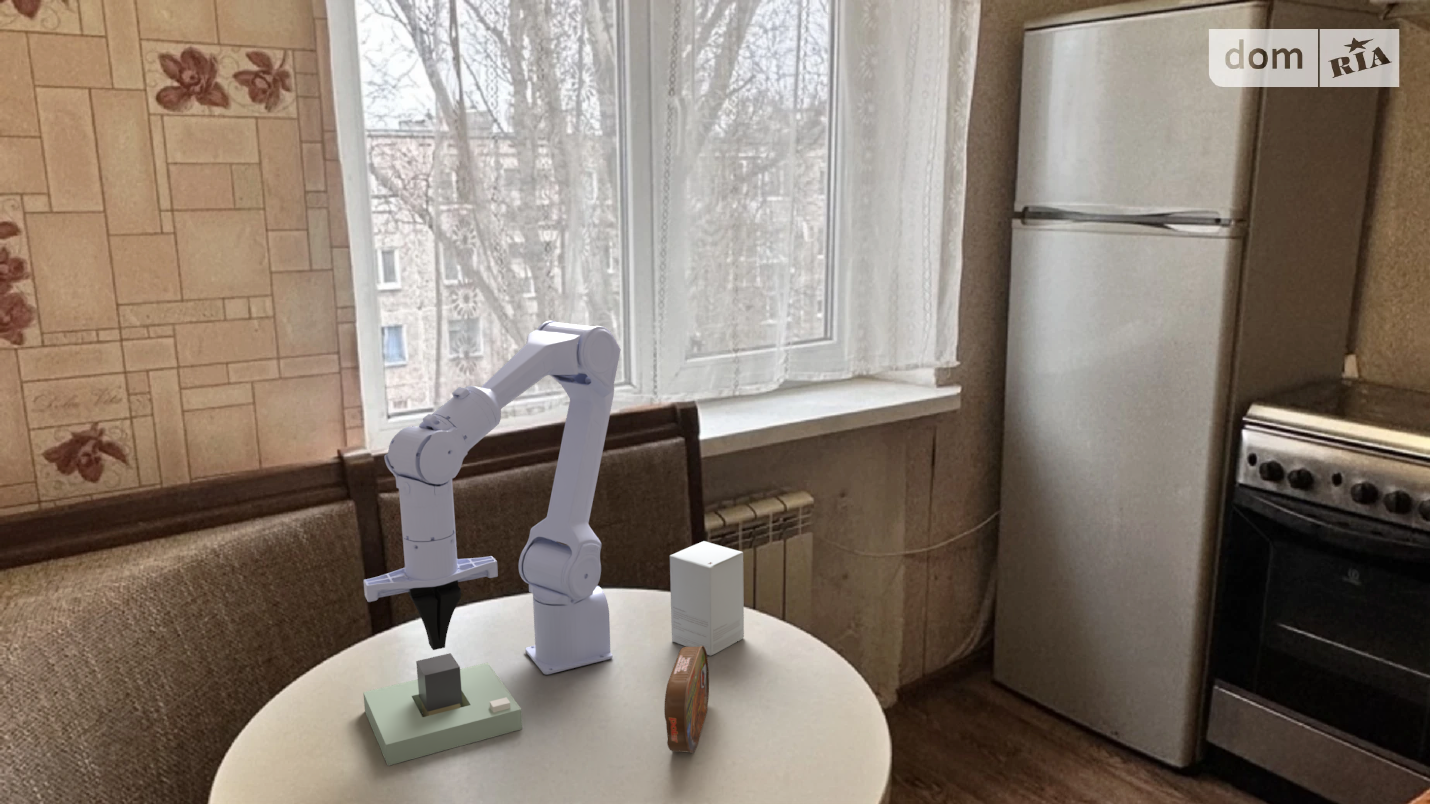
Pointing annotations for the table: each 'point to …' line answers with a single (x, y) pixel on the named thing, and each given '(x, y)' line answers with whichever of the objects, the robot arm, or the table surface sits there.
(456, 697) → the plug
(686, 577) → the supplement box
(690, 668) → the tin
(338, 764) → the table surface
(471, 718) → the socket panel
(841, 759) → the table surface
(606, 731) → the table surface
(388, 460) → the robot arm
